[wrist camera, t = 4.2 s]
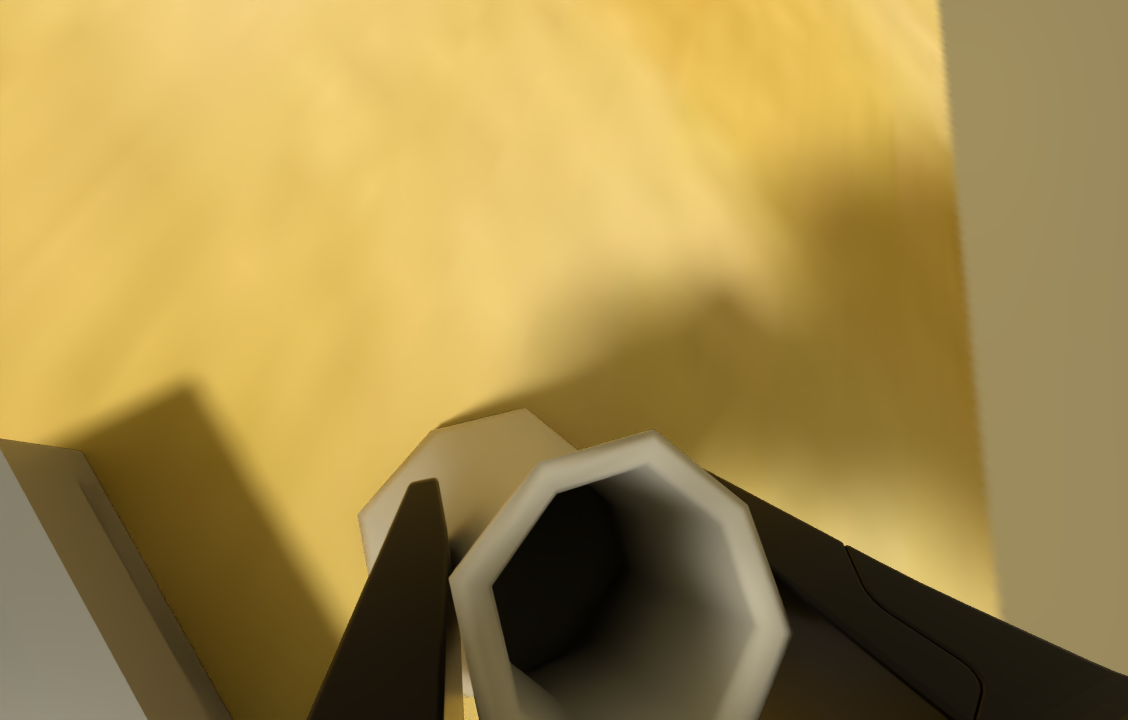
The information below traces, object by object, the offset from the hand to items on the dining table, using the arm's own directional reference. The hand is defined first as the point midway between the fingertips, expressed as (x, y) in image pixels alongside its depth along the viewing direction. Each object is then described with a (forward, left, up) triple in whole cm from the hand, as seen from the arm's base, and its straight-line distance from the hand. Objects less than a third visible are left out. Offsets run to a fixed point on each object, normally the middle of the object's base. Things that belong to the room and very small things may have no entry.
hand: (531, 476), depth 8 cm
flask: (-1, -1, -7) cm, 7 cm away
